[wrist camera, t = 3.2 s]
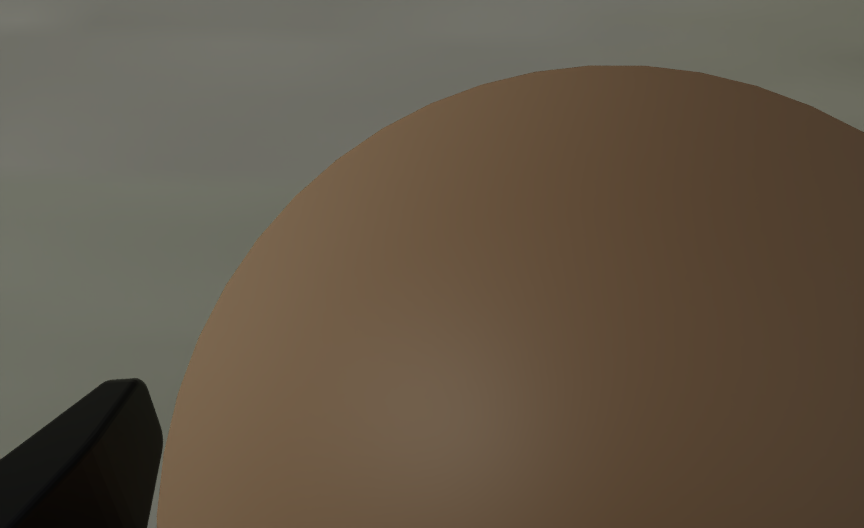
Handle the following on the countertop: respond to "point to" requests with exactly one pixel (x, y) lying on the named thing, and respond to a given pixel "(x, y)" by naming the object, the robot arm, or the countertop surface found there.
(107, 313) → the countertop surface
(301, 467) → the walnut peg
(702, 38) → the countertop surface
